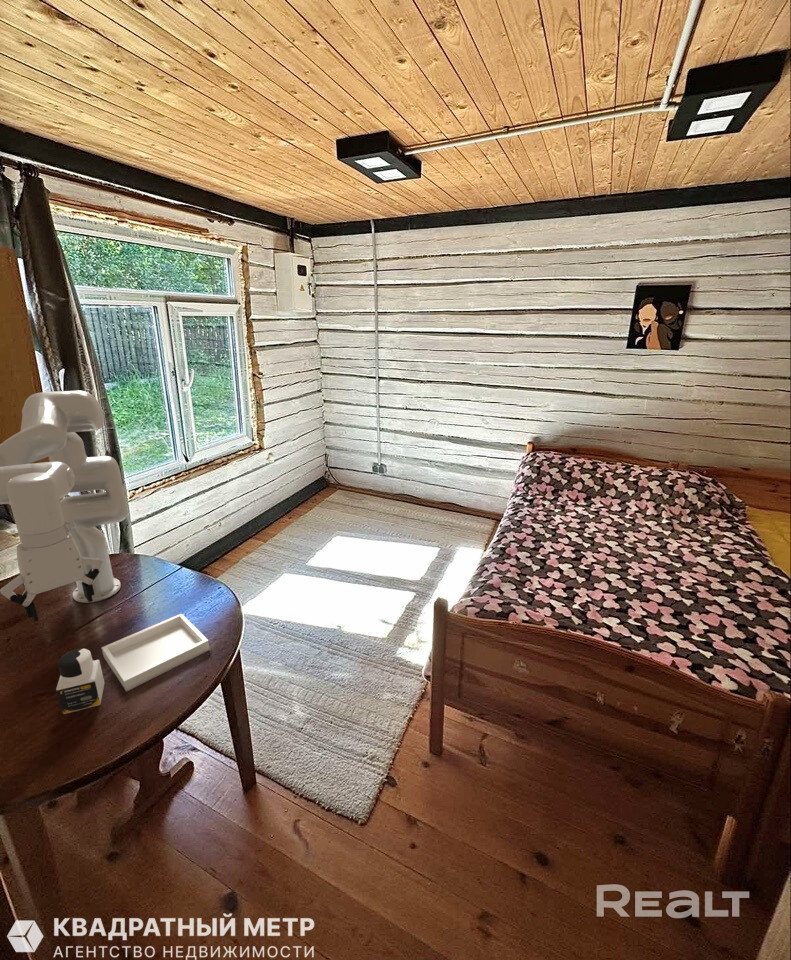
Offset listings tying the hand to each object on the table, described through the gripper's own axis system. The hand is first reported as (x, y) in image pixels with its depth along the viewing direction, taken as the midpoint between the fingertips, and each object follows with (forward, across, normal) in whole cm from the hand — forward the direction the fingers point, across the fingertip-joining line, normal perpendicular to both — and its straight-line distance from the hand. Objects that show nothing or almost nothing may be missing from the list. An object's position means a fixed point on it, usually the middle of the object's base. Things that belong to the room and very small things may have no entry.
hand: (62, 608), depth 98 cm
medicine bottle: (+24, 0, 0) cm, 24 cm away
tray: (+24, -17, -3) cm, 29 cm away
